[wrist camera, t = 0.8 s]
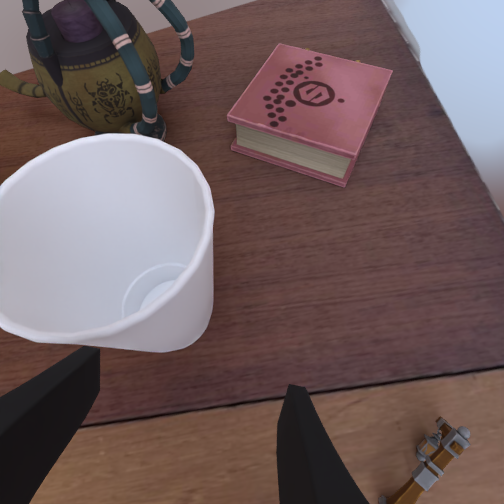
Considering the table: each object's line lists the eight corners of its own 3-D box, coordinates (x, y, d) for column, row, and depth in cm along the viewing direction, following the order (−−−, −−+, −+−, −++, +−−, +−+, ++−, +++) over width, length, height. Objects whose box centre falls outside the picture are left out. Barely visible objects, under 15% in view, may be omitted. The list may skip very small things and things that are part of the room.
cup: (90, 298, 30) (-60, 196, 16) (197, 236, 33) (148, 103, 19) (144, 411, 26) (-2, 407, 12) (262, 328, 29) (262, 243, 14)
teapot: (176, 185, 36) (61, -113, 16) (-2, 143, 41) (-276, -138, 20) (213, 115, 42) (163, -179, 21) (51, 84, 46) (-122, -187, 25)
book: (380, 103, 42) (394, 66, 37) (344, 187, 36) (356, 155, 31) (280, 76, 45) (281, 39, 40) (231, 149, 39) (227, 115, 34)
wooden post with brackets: (462, 419, 24) (485, 444, 20) (396, 498, 25) (405, 539, 20) (440, 401, 25) (458, 422, 20) (376, 479, 25) (380, 515, 21)
